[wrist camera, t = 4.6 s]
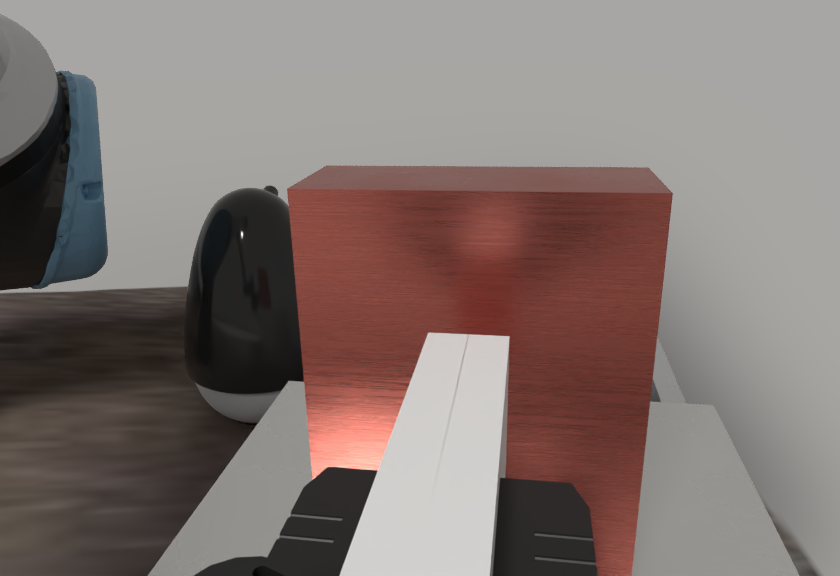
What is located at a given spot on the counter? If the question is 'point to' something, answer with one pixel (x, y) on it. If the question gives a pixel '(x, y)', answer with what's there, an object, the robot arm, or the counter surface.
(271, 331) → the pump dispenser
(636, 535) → the lid
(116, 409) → the counter surface
